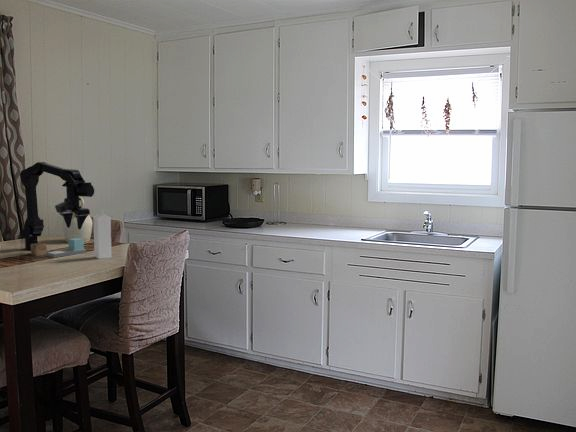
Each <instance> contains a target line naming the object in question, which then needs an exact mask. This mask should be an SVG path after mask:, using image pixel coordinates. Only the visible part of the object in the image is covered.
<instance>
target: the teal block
mask: <svg viewBox="0 0 576 432" xmlns="http://www.w3.org/2000/svg"><path fill="white" fill-rule="evenodd" d="M67 243H68V249H69V250H74V251H76V250H82V249H85V242H84V239H80V238H74V239H68V242H67Z"/></svg>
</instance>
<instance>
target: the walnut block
mask: <svg viewBox="0 0 576 432" xmlns="http://www.w3.org/2000/svg"><path fill="white" fill-rule="evenodd" d="M47 250H48V249H47V243H44V242H38V243H36V244H31V250H30V255H33V256H44V255H46V253H47V252H48V251H47Z"/></svg>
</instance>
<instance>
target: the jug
mask: <svg viewBox="0 0 576 432" xmlns="http://www.w3.org/2000/svg"><path fill="white" fill-rule="evenodd" d="M79 198H81V200H80V202H81V204H80V207H81V208H84V206H85V200H84V197H82V196H79ZM71 213H73V212H71ZM74 215H75V214H74V213H73V215H72V220H71V225H70V228H67V225H66V222H65V220H64V218H62V222H61V228H62V232H63V237H64V240H65V243H68V239H74V238H80V239H84V243H87V242H90V240H91V236H92V230H93V219H92V217H91V216H90V214H88V216H87V217H86V219H85V221H84V223H83V225H82V227H81V229H78V225H77V218H76V217H75V216H74Z"/></svg>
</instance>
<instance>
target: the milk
mask: <svg viewBox="0 0 576 432" xmlns="http://www.w3.org/2000/svg"><path fill="white" fill-rule="evenodd" d="M92 223H93V246H94V251H93V252H94V253H93V254H94V257H95V258H97V259H98V260H100V259H101V260H102V259H110V258H112V230H111V229H112V227H111V224H112V223H111V216H109V215H107V214H105V211H104V210H102V209H99V213H97V214H96V215H94V216H93V219H92Z"/></svg>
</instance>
